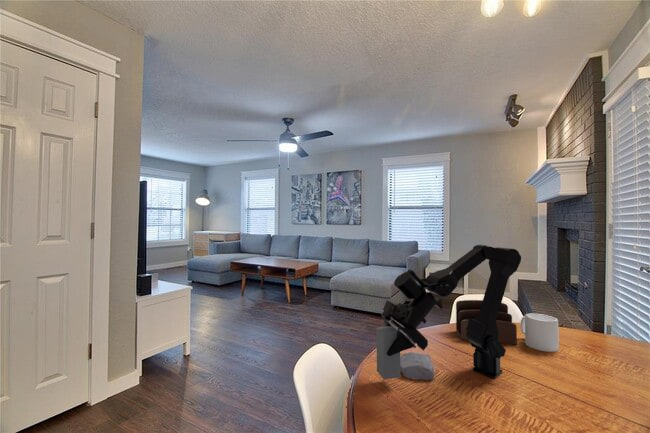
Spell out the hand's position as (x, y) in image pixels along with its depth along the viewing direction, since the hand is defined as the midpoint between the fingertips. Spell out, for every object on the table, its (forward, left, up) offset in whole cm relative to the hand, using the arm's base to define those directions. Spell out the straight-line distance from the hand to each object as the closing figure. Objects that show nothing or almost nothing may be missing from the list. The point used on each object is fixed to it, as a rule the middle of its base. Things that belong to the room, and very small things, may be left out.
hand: (383, 350), depth 83 cm
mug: (-20, -68, -10) cm, 71 cm away
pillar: (-1, -1, -7) cm, 7 cm away
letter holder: (-4, -59, -10) cm, 60 cm away
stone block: (-1, -14, -10) cm, 18 cm away
